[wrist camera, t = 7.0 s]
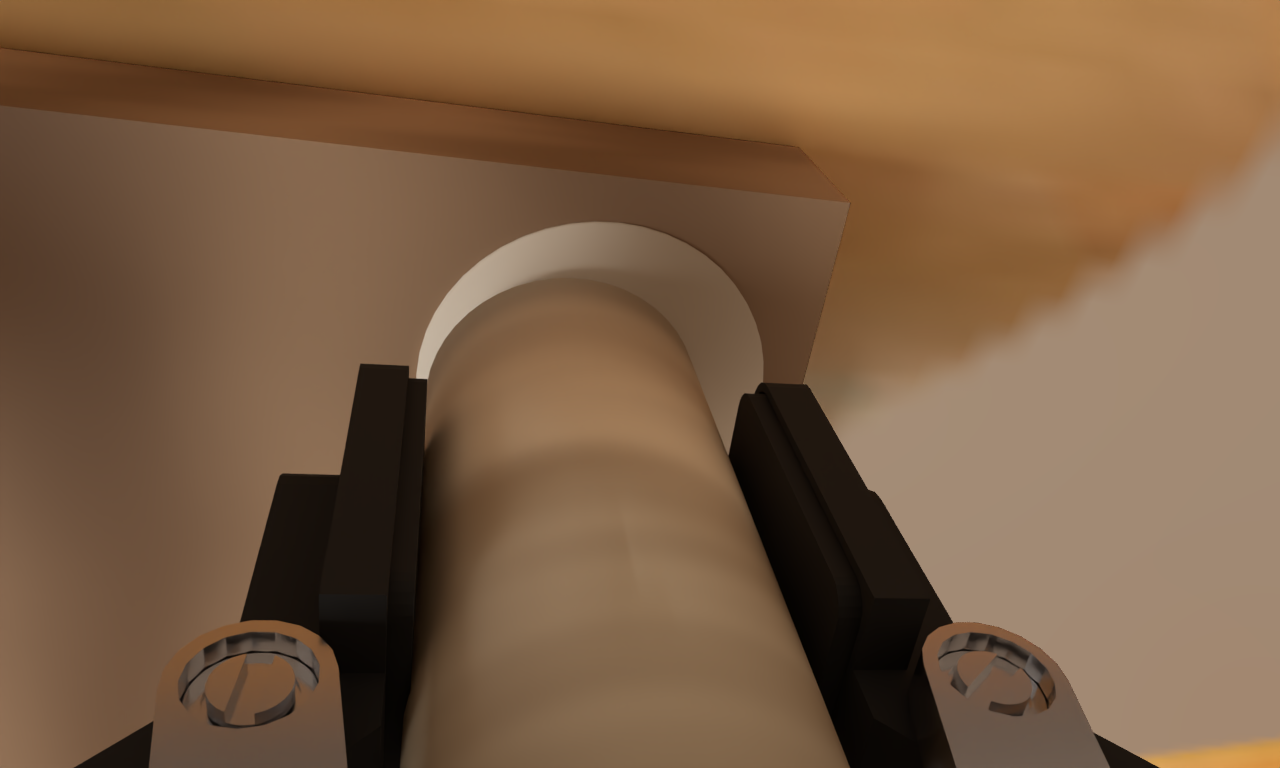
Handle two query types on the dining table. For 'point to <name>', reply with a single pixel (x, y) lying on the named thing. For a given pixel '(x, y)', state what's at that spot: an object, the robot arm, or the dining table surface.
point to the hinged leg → (593, 557)
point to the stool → (300, 323)
